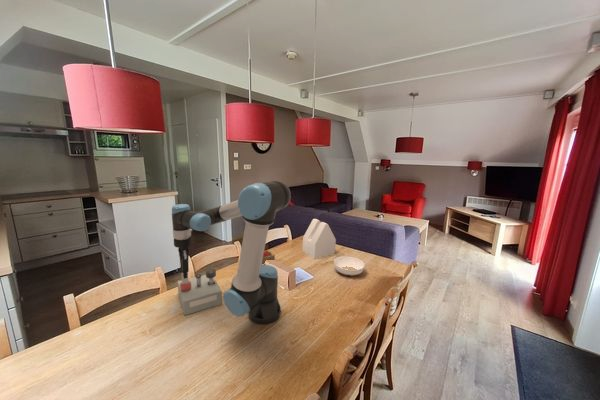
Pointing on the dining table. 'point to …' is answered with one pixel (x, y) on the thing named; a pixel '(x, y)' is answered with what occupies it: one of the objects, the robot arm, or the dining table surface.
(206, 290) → the control box
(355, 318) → the dining table surface
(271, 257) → the brown wooden crate
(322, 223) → the white house shaped block
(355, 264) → the bowl
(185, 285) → the knob red
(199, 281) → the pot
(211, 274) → the knob black
